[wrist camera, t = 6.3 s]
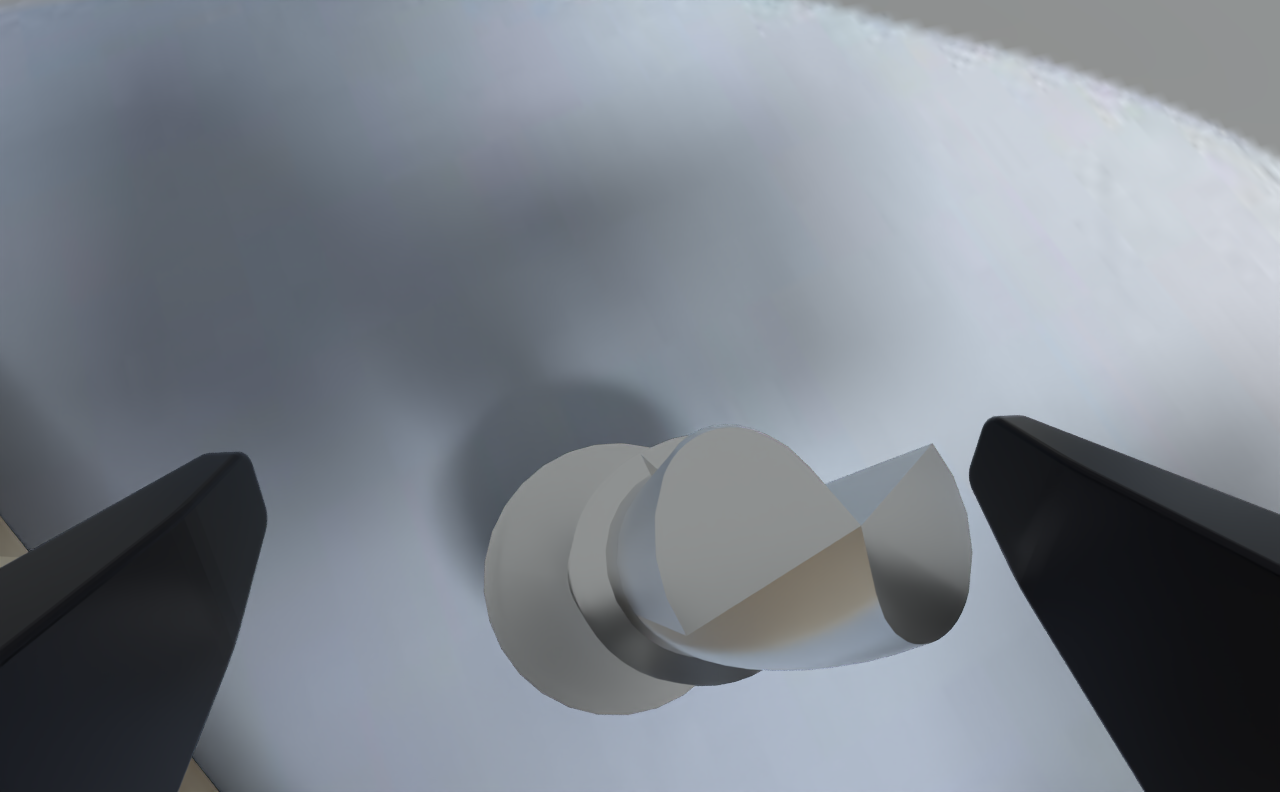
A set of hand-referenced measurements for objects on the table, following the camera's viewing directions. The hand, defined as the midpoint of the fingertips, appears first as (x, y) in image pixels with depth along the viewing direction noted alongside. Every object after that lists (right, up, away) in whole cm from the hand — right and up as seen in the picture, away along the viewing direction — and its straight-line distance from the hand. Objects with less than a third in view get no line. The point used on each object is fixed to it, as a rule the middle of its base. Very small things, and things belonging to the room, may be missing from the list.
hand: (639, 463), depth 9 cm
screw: (-1, -3, +6) cm, 7 cm away
